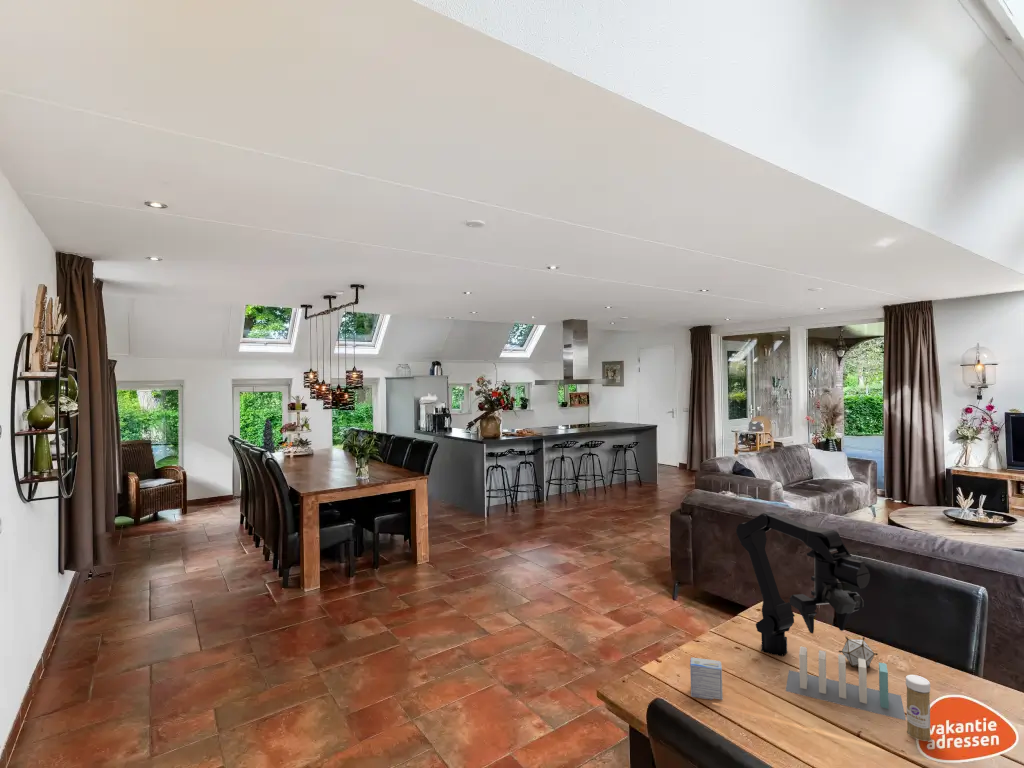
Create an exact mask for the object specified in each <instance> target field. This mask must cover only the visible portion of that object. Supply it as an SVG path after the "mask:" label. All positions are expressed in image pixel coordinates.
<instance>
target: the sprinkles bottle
mask: <svg viewBox="0 0 1024 768" xmlns="http://www.w3.org/2000/svg"><path fill="white" fill-rule="evenodd" d="M905 686H906V724H907V726H906V733H907V735H909V736H910V737H911V738H913V739H915V740H918V741H922V742H928V741H931V739H932V738H931V702H930V701H931V700H930V693H931V682H930V681H929V680H928V679H927V678H925V677H923V676H920V675H917V674H908V675H906V676H905Z"/></svg>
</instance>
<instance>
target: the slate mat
mask: <svg viewBox="0 0 1024 768" xmlns="http://www.w3.org/2000/svg"><path fill="white" fill-rule="evenodd" d="M807 677H808V681H807V689H803V688H800V671H794V670H790V669H789V670H788V673H787V681H786V684H785V685H786V686H785V692H788V693H792V694H796V695H799V696H804V697H808V698H813V699H815V700H821V701H826V702H830V703H834V704H837V705H841V706H845V707H849V708H854V709H856V710H857V709H858V710H861V711H865V712H870V713H873V714H877V715H882V716H886V717H891V718H894V719H899V720H902V721H907V717H906V714H905V709H904V705H903V699H902V695H900V694H896V693H892V692H888V702H889V709H887V708H883V707H881V704H880V695H879V689H874V688H871V687H867V704H866V703H862V702H860V700H859V685H856V684H851V683H848V682H846V699H845V698H841V697H839V680H834V679H831V678H830V679H829V678H826V694H824V693H820V692H819V676H816V675H811V674H808V673H807Z"/></svg>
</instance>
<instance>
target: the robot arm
mask: <svg viewBox="0 0 1024 768" xmlns="http://www.w3.org/2000/svg"><path fill="white" fill-rule="evenodd" d="M771 529H772V530H775V531H777V532H780V533H782V534H784V535H787V536H790V537H792V538H795V539H797V540H799V541H801V542H802V543H804V544H805V545H806V546H807V547H808V548H809V549H811V550H810V551H809V552H807V553H806V556H807V557H810V558H814V559H813V564H814V568H813V571H814V572H813V573H814V575H813V576H810V579H811V581H813V582H814V585H813V586H814V590H811V592H810V593H811V596H813V597H809V596H808V595H806V594H804V593H799V594H792V595H790V596H789V602H786V601H785V600H784V599H783V598H782V597H781V595H780V593H779V589H778V586H777V583H776V580H775V576H774V573H773V570H772V567H771V564H770V561H769V558H768V555H767V552H766V544H767V540H768V539H767V534H766V533H767V532H769V531H770V530H771ZM735 533H736V536H737V538H738V540H739V542H740V545H741V546H742V547H743V549H745V550H746V552H747V553H748V555H749V559H750V561H751V565H752V567H753V571H754V574H755V578H756V581H757V584H758V587H759V590H760V593H761V596H762V599H763V600H762V606H761V615H762V619H760V620H758V622H757V623H755V628H756V631H757V632H759V633H761V634H760V635H761V649H760V652H762V653H765V654H769V655H774V656H779V657H785V655H787V653H788V637H787V636H786V632H789V631H790V628H791V627H792V626H793V624H794V623H795V618H794V617H795V616H796V615H795V614H794V612H793V610H792V609H793V608H792V607H794V608H795V609H797V610H798V611H799V613H800V616H801V617H802V618H803V621H804V623H805V625H806V627H807V629H808V631H809V633H810V634H812V635H813V634H814V630H815V616H816V615H817V614H818V612H816V610H817V606H825V605H830V606H831V607H832V609H834V611H835V613H836V619H837V625H838V626H837V627H838V629H839V631H841V632H843V631H844V630H845V628H846V625H847V623H848V620H849V618H850V617H851V614H852V613H854V612H857V611H859V610H860V609H861V608H862V609H863V608H864V600H863V598H862V596H860V594H859V593H858V592H857V591H853V592H852V591H851V590H844V589H843V584H842V583H844V584H847V585H850V586H853V587H856V588H859V589H865V588H866V587H867V586H868V585H869V582H870V579H871V573H870V570H869V568H868V567H867V566H866V562H865V561H863V560H860V559H859V560H858V559H854V558H851V557H852V555H851V553H850V551H849V550H848V549H847V547H846V545H845V544H844V542H843V541H842V540H843V539H842V538H841V536H840V535H839V534H840V533H839V532H838V531H836V530H834V529H830V528H825V527H817V526H814V527H813V526H808V525H806V524H803V523H800V522H798V521H795V520H792V519H789V518H787V517H784V516H782V515H779V514H777V513H776V512H773V511H770V512H769V511H768V512H763V513H760V514H759V515H758V516H756V517H755V518H752V519H751V520H748V521H747V522H742V523H739V524H738V525H737V527H736V529H735ZM834 551H836V552H834ZM832 552H833V553H832Z"/></svg>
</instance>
